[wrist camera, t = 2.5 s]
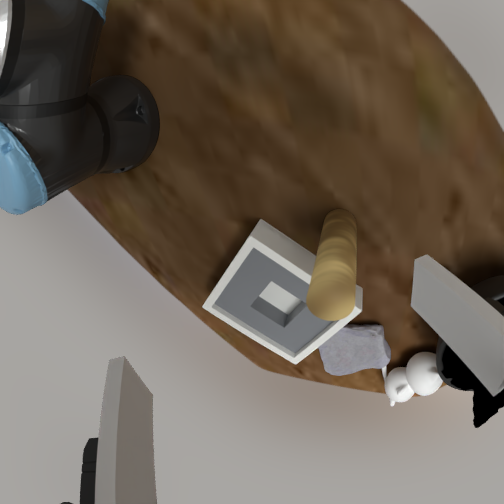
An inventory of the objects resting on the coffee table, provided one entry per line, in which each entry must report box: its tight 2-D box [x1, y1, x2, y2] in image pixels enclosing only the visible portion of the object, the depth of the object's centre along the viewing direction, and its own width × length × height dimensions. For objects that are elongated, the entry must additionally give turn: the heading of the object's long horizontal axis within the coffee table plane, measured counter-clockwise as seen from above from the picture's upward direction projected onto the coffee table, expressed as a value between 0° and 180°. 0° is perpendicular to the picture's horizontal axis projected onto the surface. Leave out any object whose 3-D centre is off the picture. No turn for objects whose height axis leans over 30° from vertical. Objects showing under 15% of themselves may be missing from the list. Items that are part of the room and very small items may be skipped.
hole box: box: [202, 219, 363, 364], centre depth 46 cm, size 18×16×5 cm
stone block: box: [318, 324, 391, 376], centre depth 48 cm, size 12×5×10 cm
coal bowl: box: [436, 275, 504, 428], centre depth 30 cm, size 20×20×19 cm
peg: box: [306, 209, 357, 321], centre depth 33 cm, size 4×4×16 cm
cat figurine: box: [382, 352, 443, 406], centre depth 45 cm, size 9×11×12 cm
